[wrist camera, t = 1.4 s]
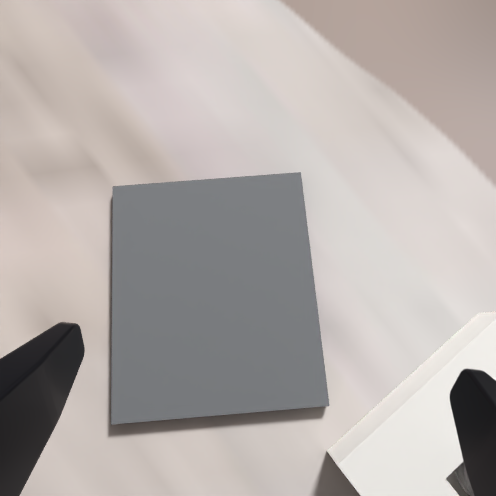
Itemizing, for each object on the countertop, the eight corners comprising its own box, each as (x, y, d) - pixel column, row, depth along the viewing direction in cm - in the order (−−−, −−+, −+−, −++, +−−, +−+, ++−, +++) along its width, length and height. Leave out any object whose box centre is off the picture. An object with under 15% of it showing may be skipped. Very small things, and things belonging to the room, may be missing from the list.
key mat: (327, 404, 21) (329, 405, 21) (115, 422, 21) (111, 424, 21) (299, 176, 25) (300, 172, 24) (116, 190, 24) (112, 186, 24)
